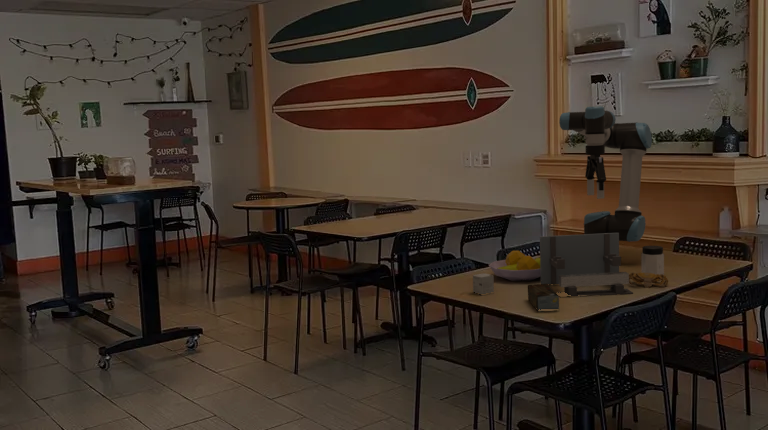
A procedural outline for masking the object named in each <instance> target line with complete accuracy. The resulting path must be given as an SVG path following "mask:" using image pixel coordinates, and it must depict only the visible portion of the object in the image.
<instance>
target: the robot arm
mask: <svg viewBox="0 0 768 430" xmlns="http://www.w3.org/2000/svg"><path fill="white" fill-rule="evenodd" d="M616 119H617V118H616V115H615V114H614V113H613V112H612V111H610V110H605V107H604V106H603V105H602V106H601V105H598V106H596V105H595V106H587V107H586V108H585V111H568V112H562V113H561V114H560V116H559V127H560V129H561V130H563V131H574V132H576V133H578V134H581V135H583V136H584V137H583V138H584V140H585V145H586V146H585V155H587V157H586V158H587V159H586V166H585V167H586V168H585V174H584V175H585V178H586V194H587V196H594V195H595V181H596V199H600V200H601V199H605V182H606V181H607V177H606V169H605V163H604V156H601V155H605V153H606V151H605V149H606V148H609V149H616V150H619V153H620V154H621V155H622V161H621V162H622V163H621V171H620V172H621V173H620V187H619V199H618V207H617V208H616V209H615V210H614V214H611V212H610V211H605V210H604V211H597V212H596V211H595V212H589V213H587V214H585V215H584V219H583V222H584V223H583V234H602V233H619V242H629V243H630V242H638V241H641V239H642V238H643V236H644V233H645V230H646V218H645V216H643V215H642V213H643V211H641V210H640V209H639V208H640V207H639V206H640V193H641V178H642V165H643V157H644V156H645V155H646V154H647V151H648V149H651V147H652V143H653V138H652V131H651V128H650V126H649V124H647V123H645V122H638V121H637V122H621V123H619V122H618V123H617V122H616ZM595 176H596V179H597V180H595Z"/></svg>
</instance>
